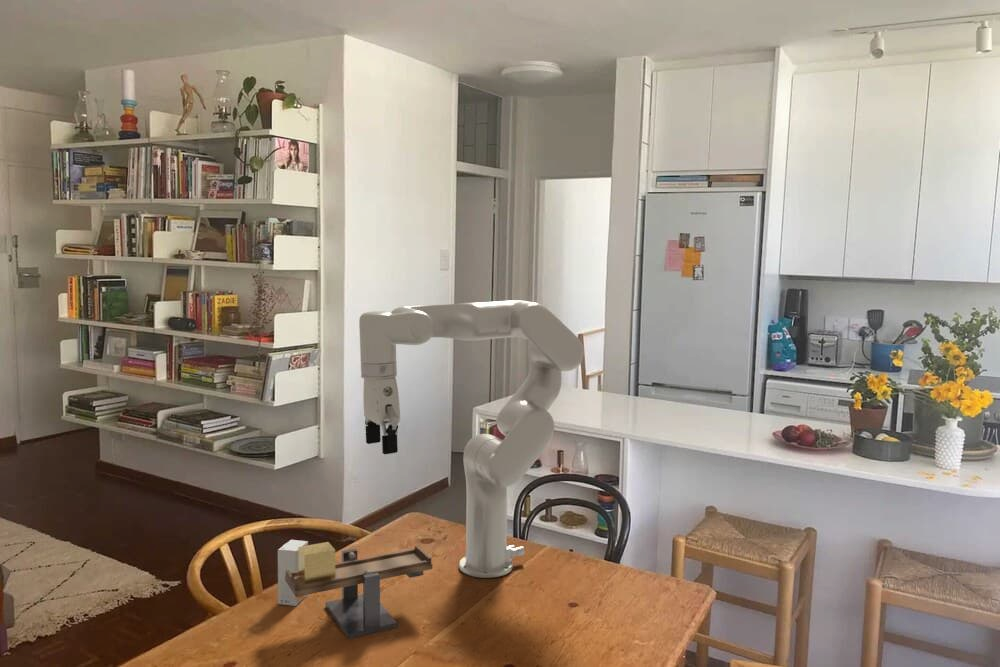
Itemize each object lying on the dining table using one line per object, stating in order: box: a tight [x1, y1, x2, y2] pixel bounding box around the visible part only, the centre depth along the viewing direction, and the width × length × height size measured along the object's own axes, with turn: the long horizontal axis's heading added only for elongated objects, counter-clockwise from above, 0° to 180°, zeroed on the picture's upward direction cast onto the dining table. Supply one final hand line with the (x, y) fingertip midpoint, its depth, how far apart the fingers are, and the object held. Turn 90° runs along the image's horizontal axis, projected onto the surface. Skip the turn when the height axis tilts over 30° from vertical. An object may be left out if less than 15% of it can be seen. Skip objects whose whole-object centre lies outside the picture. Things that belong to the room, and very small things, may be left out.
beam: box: [285, 544, 433, 597], centre depth 157 cm, size 28×11×4 cm, turn 119°
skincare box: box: [277, 539, 309, 607], centre depth 165 cm, size 6×4×12 cm
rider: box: [298, 541, 336, 585], centre depth 153 cm, size 6×5×6 cm
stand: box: [325, 548, 398, 640], centre depth 158 cm, size 10×15×12 cm, turn 29°
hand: (381, 447), depth 168 cm, fingers open, 9 cm apart
